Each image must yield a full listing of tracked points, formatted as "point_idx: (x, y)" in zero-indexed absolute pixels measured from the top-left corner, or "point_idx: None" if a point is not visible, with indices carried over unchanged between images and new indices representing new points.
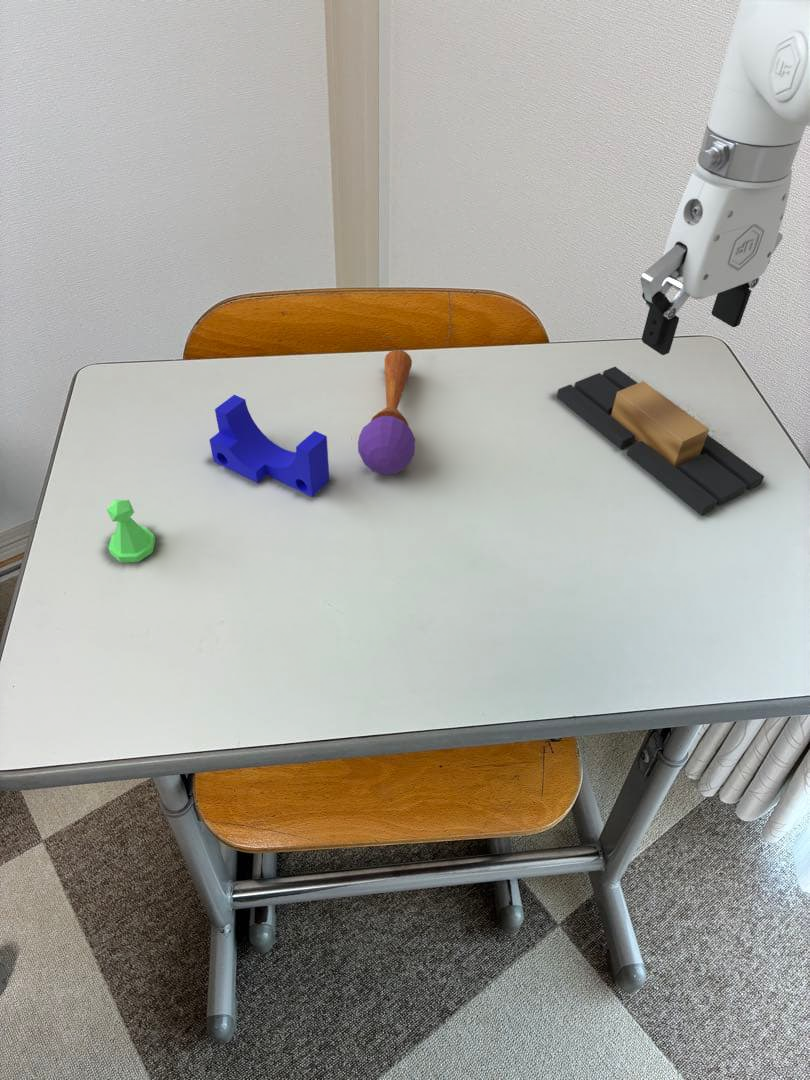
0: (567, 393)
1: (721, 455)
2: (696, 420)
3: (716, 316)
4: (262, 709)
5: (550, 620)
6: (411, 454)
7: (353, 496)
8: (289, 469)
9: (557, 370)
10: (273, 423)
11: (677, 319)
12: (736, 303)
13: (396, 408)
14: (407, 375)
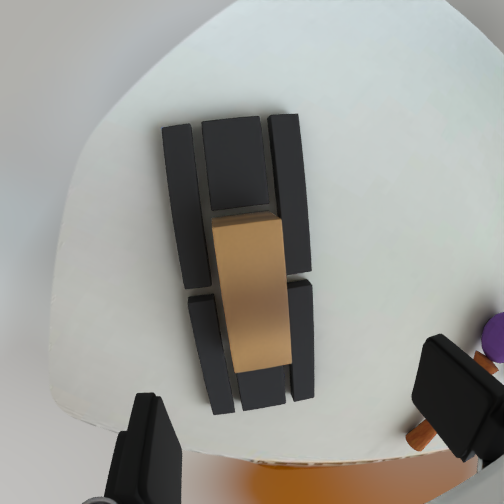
0: (310, 388)
1: (191, 195)
2: (217, 258)
3: (176, 440)
4: None
5: (487, 107)
6: (501, 321)
7: None
8: None
9: (274, 426)
10: None
11: (501, 391)
12: (156, 462)
13: None
14: (425, 426)
